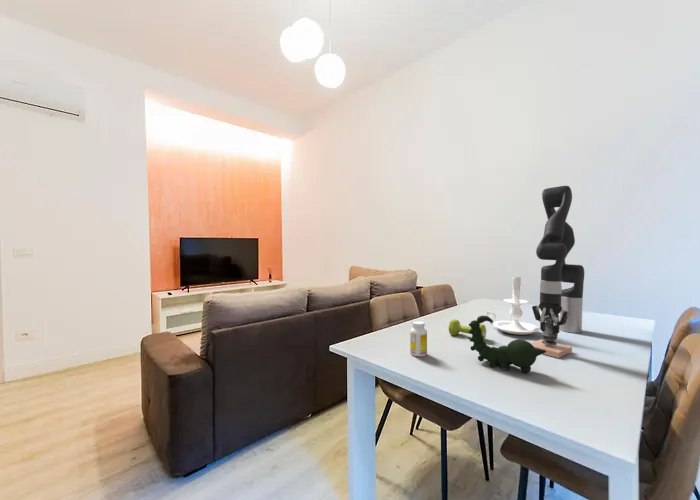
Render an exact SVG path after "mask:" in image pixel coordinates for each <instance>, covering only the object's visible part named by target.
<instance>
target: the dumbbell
mask: <svg viewBox="0 0 700 500" xmlns="http://www.w3.org/2000/svg"><path fill="white" fill-rule="evenodd" d="M480 328H481V330H482V333H481V334H482V336H483V338H484V340H485V339H486V337H487V328H486V325H485V324H483V323H480ZM447 330H448V332H449V335H451V336H457V335H459V333H465V334H468V335H472V334H471V333H469V330H471V327H470V326H466V325H461V323H460V321H459V320H458V319H456V318H455V319H454V318H453V319H451V320H450V321H449V324H448V329H447Z"/></svg>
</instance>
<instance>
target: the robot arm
mask: <svg viewBox="0 0 700 500" xmlns="http://www.w3.org/2000/svg"><path fill="white" fill-rule="evenodd" d="M541 198H542V204H543V206H544V211H545V214H546V218H547V221H546V222H545V226H544V231H543V236H542V237H541V240H540V241H539V243H538V245H537V246H536V250H535V253H536V257H537V258H538V259H539V260H542V261H555V263H554V264H551V265H550V264H548V265H543V266H542V267H541V270H540V284H539V304H538V305H532V307H531V308H532V312H533V316H534V318H535V321H538V322H539V323H540V324H539V325H540V326H539V328H540V331H541V333H543V332H545V324H546V317H548V316H551V317H552V319H553V321H554V334H555V335H558V334H559V333H560V331H563V332H567V333H573V334H579V333H582V332H583V299H584V298H583V297H584V281H585V268H584V266H583V265H580V264H572V263H571V264H570V263H569V264H568V263H566V258H567V256H568V255H569V253H570V252H571V250H572V249H573V248H574V245H575V243H576V240H575V239H576V237H575V233H574V230H573V227H572V226H571V225H570V224H569V223H568V222H567V217H568V216H569V212H570V209H571V205H572V201H573V193H572V189H571V187H570V186H568V185H560V186H554V187H548V188H545V189H543V190H542V193H541ZM556 208H558V209H557V210H556ZM562 283H569V284H573V285H572V286H571V287H569V288H565V289H563V288H562V287H563V286H562ZM540 312H541V313H540Z"/></svg>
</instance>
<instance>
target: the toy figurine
mask: <svg viewBox="0 0 700 500" xmlns="http://www.w3.org/2000/svg"><path fill="white" fill-rule="evenodd" d="M492 319H493V318H491V317H489V315H488V316H487V315H479V316H477V318H476V319H474V320H471V321H470V322H469V323H468V327H471V330H469V333H471V334H470V335H471V337H470V338H469V342H471V343H473V345H471V346H470V350H471V351H476V352H478V355H479V356H478V357H477V360H478V361H479V362H482V361H484V360H486V361H487V362H488V366H489V367H491V368H494V367H495V366H497V365H500V367H501V368H502V369H504V370H508V369H509V368H510V366H511V365H513V366H514V367H517V368H520V371H521V372H522V373H524V374H528V373H530V372H531V370H532V366H533V365H534V364H535V363H536V360H537V357H538V356H541V355H544V354H543V353H546V350H542V349H538V348H535V347H534V346H533V345H532V344H531V343H532V342H530V341H527V340H525V339H522V338H521V339H519V338H518V339H514V340H511V341H510V342H509V343H508V344H507V345H499V346H498V347H495V346H489V345H487V343H486V341H484V340H485V339H484V338H483V336H482V334H481V333H482V330H481V328H480V324H483V323H485V322H488V323H490V322H491V323H494V321H493V320H492Z"/></svg>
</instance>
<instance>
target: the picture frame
mask: <svg viewBox="0 0 700 500" xmlns="http://www.w3.org/2000/svg"><path fill="white" fill-rule="evenodd" d="M542 341H544V339H543V338H541V339H539V340H538V339H537V340H534V341H533V342H530V343H531V344H532V345H533V346H534V347H535V348H538V349H542V350H546V353H543V354H542V355H545V356H549V357H554V358H557V359H559V358H562V357H564V356H566V355H568V354H571V353H572V352H573V347H572V346H569V345H565V344H562V343H558V342H556V343H557V345H547V344H544V343H542Z"/></svg>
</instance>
